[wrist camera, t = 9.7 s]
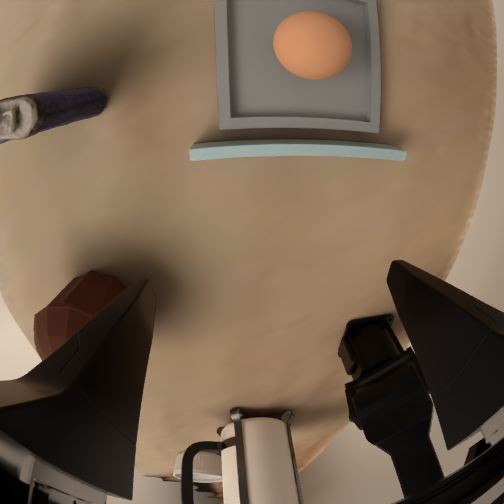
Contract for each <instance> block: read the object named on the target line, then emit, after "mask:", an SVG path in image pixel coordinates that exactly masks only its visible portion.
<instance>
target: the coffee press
mask: <svg viewBox="0 0 504 504" xmlns="http://www.w3.org/2000/svg"><path fill="white" fill-rule="evenodd" d="M289 413H291V416H290V418H289V420H288V422H287V424H286V423H284V422H283V421H282V420H284V419H285V417H286V416H287V415H288V414H289ZM230 415H231V417H232V420H233V422H232V423H230V424H228V425H227V426H225V427H224V428H222V427H219V428H218V429H217V433H218V434H219V435H220V437H221V442H213V441H203V442H197V443H194V444H192V445H190V446H189V447H188V448H187V449H186V451H185V453H184V455H183V458H182V465H181V500H182V504H194V502H193V459H194V456H195V455H196V454H197V453H199V452H201V451H217V452H220V455H221V457H222V479H223V497H224V504H303V499H302V494H301V488H300V482H299V477H298V471H297V465H296V459H295V454H294V448H293V442H292V437H291V430H290V425H291V422H292V420H293V419H294V413H292V412H291V411H290V410H287V411H285V412H284V413H283V415H282V416H281V417H280V418H278V419H274V418H266V417H257V418H247V419H246V418H245V417H244V416H243V414H242V411H241V409H240V408H235V409H231V410H230Z"/></svg>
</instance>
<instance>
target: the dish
mask: <svg viewBox="0 0 504 504" xmlns="http://www.w3.org/2000/svg"><path fill="white" fill-rule="evenodd" d="M302 11H317V12H321V13H325V14H327V15H329V16H331V17H333V18H335V19H336V20H337V21H339V22H340V23H341V24H342V25H343V26H344V27H345V29H346V30H347V32H348V34H349V36H350V38H351V42H352V55H351V58H350V61H349V63H348V64H347V66H346V67H345V68H344V69H343V70H342V71H341V72H340V73H338V74H337V75H335V76H333V77H330V78H327V79H322V80H311V79H305V78H302V77H299V76H297V75H295V74H293V73H291V72H290V71H288V70H287V69H286V68H285V67H284V66H283V65H282V64H281V63H280V62H279V60H278V58H277V57H276V54H275V52H274V47H273V37H274V33H275V31H276V29H277V27H278V25H279V24H280V23H281V22H282V21H283V20H284V19H285V18H287V17H288V16H290V15H292V14H294V13H298V12H302ZM215 39H216V69H217V93H218V113H219V130H227V129H246V128H317V129H336V130H350V131H361V132H371V133H379V124H380V100H381V62H380V39H379V25H378V14H377V5H376V0H215Z"/></svg>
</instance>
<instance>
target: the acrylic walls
mask: <svg viewBox="0 0 504 504" xmlns="http://www.w3.org/2000/svg"><path fill="white" fill-rule="evenodd" d="M189 154H190V161H197V160H208V159H221V158H236V157H257V156H341V157H361V158H376V159H388V160H399V161H406V155H407V151H405V150H402V149H400V148H397V147H395V146H392V145H387V144H377V143H367V142H354V141H339V140H316V139H259V140H236V141H220V142H207V143H197V144H193V145H192V146H191V148H190V149H189Z"/></svg>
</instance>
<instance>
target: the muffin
mask: <svg viewBox="0 0 504 504" xmlns="http://www.w3.org/2000/svg"><path fill="white" fill-rule="evenodd" d="M125 289H127V287H125V286H124V285H123V284H122V283H121V282H120V281H119V280H118V279H117V278H116V277H115V276H108V275H102V274H99V273H96V272H93V271H89V272H88V273H86V274H84V275H83V276H80V277H77V278H74V279H73V280H72V281H71V282H70V283H69V284H68V285H67V286H66V287H65V288H64V289H63V290H62V291H61V292H60V293H59V294H58V295H57V296H56V297H55V298H54V299H53V300H52V302H51V303H50V304H49V305H48V306H46V307H45V308H44V309H42V310H41V311H39V312H38V313H37V314H35V319H34V340H35V345H36V349H37V352H38V354H39V355H40V357H41V359H42V361H43V360H44V359H46V358H47V357H48V356H49V355H51V354H52V353H53V352H54V351H55V350H57V349H58V348H59V347H60V346H61V345H63V344H64V343H65V342H66V341H67V340H68V339H69V338H70V337H72V336H73V335H74V334H75V333H77V331H78V330H79V329H80V328H82V327H83V326H84V325H85V324H86V323H87V322H88V321H89V320H91V319H92V318H93V317H94V316H95V315H96V314H97V313H99V312H100V311H101V310H102V309H103V308H104V307H105V306H107V305H108V304H109V303H110V302H111V301H112V300H114V299H115V298H116V297H117V296H118V295H119V294H121V293H122V292H123V291H124V290H125Z"/></svg>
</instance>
